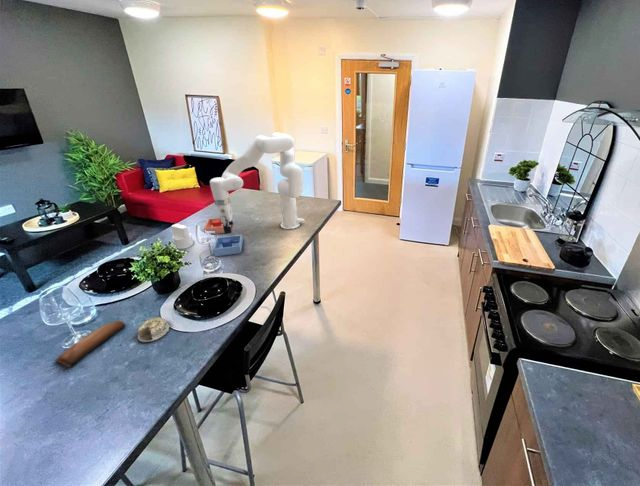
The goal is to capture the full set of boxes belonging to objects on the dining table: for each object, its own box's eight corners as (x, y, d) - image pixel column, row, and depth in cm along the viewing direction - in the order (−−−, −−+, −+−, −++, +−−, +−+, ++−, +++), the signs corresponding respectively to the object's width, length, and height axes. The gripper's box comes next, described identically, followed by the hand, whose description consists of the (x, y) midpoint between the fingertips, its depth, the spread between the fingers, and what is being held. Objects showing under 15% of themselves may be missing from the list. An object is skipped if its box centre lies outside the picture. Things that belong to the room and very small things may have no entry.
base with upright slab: (171, 246, 163) (165, 228, 158) (185, 239, 171) (180, 221, 166) (183, 250, 160) (178, 231, 155) (197, 242, 168) (192, 224, 163)
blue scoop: (240, 244, 166) (238, 236, 164) (239, 248, 162) (237, 240, 160) (223, 246, 164) (222, 238, 162) (222, 250, 160) (221, 242, 158)
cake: (152, 322, 114) (149, 310, 112) (176, 324, 113) (173, 313, 111) (130, 341, 104) (127, 329, 103) (156, 344, 104) (153, 332, 102)
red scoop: (228, 225, 187) (227, 218, 185) (227, 228, 183) (226, 221, 181) (214, 227, 185) (212, 220, 183) (213, 230, 181) (211, 223, 179)
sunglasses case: (109, 321, 112) (110, 312, 109) (124, 331, 112) (126, 322, 109) (53, 361, 96) (53, 351, 93) (70, 372, 96) (71, 363, 93)
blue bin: (242, 241, 170) (241, 234, 168) (240, 253, 159) (239, 246, 157) (218, 244, 167) (216, 237, 165) (214, 256, 155) (213, 249, 153)
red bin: (231, 223, 191) (230, 216, 189) (229, 232, 180) (227, 225, 178) (209, 225, 188) (208, 219, 186) (205, 234, 176) (204, 228, 174)
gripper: (228, 206, 147) (234, 235, 154) (231, 193, 162) (237, 220, 169) (211, 208, 145) (219, 237, 152) (217, 195, 160) (223, 222, 167)
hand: (229, 228), depth 161 cm, fingers open, 9 cm apart
